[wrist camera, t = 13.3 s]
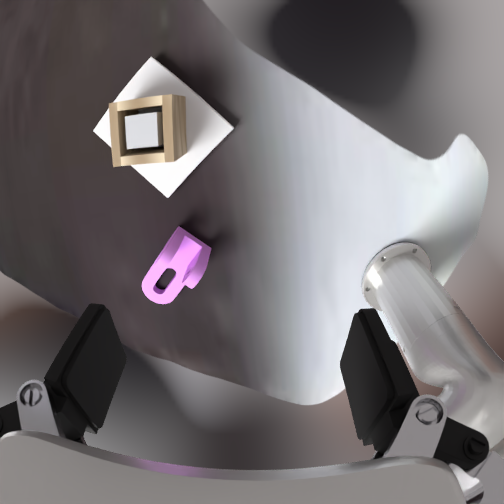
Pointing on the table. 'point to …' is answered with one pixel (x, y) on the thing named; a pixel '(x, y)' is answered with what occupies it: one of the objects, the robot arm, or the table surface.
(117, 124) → the wooden collar
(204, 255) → the bracket
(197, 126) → the plate
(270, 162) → the table surface
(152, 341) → the table surface
